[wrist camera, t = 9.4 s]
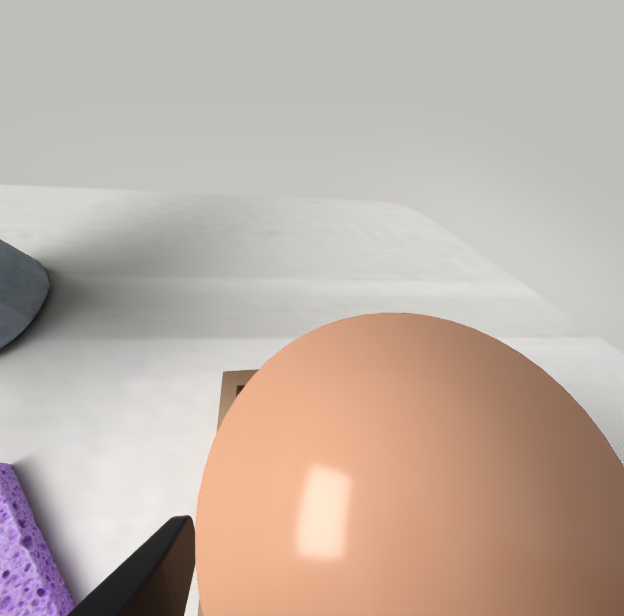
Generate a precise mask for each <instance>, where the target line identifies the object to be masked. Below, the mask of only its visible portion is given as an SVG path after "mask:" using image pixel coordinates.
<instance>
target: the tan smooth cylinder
mask: <svg viewBox="0 0 624 616" xmlns="http://www.w3.org/2000/svg"><path fill="white" fill-rule="evenodd" d="M195 564H196V572H197V580H198V589H199V597H200V603H201V607H202V611H203V616H624V467H623V465H622V463H621V462H620V460H619V458H618V457H617V455H616V454H615V452H614V450H613V449H612V447H611V446H610V444H609V442H608V441H607V439H606V438H605V436H604V435H603V434H602V432H601V431H600V430H599V428H598V427H597V426H596V424H595V423H594V422H593V421H592V419H591V418H590V417H589V415H588V414H587V413H586V411H585V410H584V409H583V408H582V407H581V406H580V405H579V404H578V403H577V402H576V401H575V400H574V398H573V397H572V396H571V395H570V394H569V393H568V392H567V391H566V390H565V389H564V388H563V387H562V386H561V385H560V384H559V383H557V382H556V381H555V380H554V379H553V378H552V377H551V376H549V375H548V374H547V373H546V372H545V371H544V370H543V369H541V368H540V367H539V366H537V365H536V364H535V363H533V362H532V361H530V360H529V359H528V358H526V357H525V356H524V355H522V354H521V353H519V352H518V351H516V350H514V349H512V348H511V347H509V346H507V345H506V344H504V343H502V342H501V341H499V340H497V339H495V338H493V337H491V336H489V335H486V334H484V333H482V332H480V331H478V330H476V329H473V328H470V327H467V326H464V325H461V324H459V323H456V322H453V321H449V320H445V319H440V318H436V317H432V316H426V315H418V314H410V313H378V314H367V315H361V316H356V317H351V318H347V319H342V320H339V321H336V322H333V323H330V324H327V325H324V326H322V327H320V328H318V329H316V330H314V331H311V332H309V333H307V334H305V335H303V336H302V337H300V338H298V339H297V340H295V341H294V342H292V343H290V344H289V345H287V346H286V347H284V348H283V349H282V350H281V351H279V352H278V353H277V354H276V355H274V356H273V357H272V358H271V359H269V360H268V361H267V362H266V363H265V364H264V365H263V366H262V367H261V368H260V369H259V370H258V371H257V372H256V373H255V374H254V375H253V377H252V378H251V379H250V380H249V382H248V383H247V384H246V385H245V387H244V388H243V389H242V391H241V392H240V393H239V394H238V396H237V397H236V399H235V401H234V402H233V404H232V406H231V407H230V409H229V411H228V412H227V414H226V416H225V417H224V419H223V422H222V424H221V426H220V428H219V430H218V432H217V435H216V437H215V439H214V441H213V444H212V447H211V450H210V453H209V456H208V459H207V462H206V465H205V469H204V473H203V478H202V483H201V487H200V492H199V497H198V506H197V516H196V526H195Z"/></svg>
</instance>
